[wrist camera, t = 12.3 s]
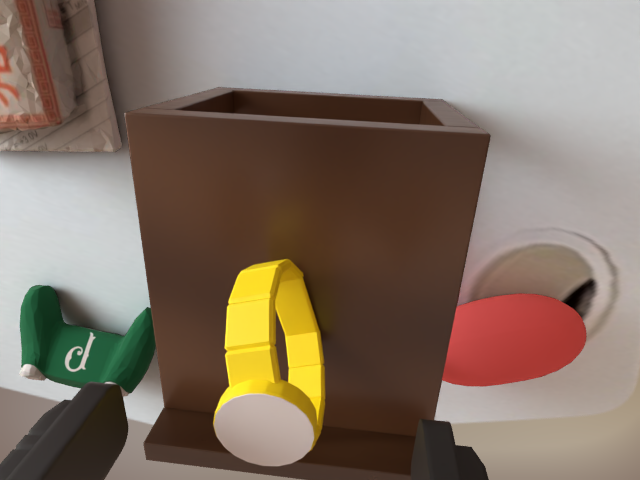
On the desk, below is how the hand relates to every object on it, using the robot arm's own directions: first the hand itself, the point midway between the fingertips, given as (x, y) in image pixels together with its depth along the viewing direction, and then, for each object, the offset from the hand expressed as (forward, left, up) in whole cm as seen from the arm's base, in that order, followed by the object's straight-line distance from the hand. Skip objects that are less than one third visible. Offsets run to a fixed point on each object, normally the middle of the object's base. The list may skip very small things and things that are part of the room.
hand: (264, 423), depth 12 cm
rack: (0, 0, -16) cm, 16 cm away
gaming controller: (+10, -15, -16) cm, 24 cm away
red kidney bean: (+6, +11, -16) cm, 20 cm away
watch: (0, 0, -6) cm, 6 cm away
